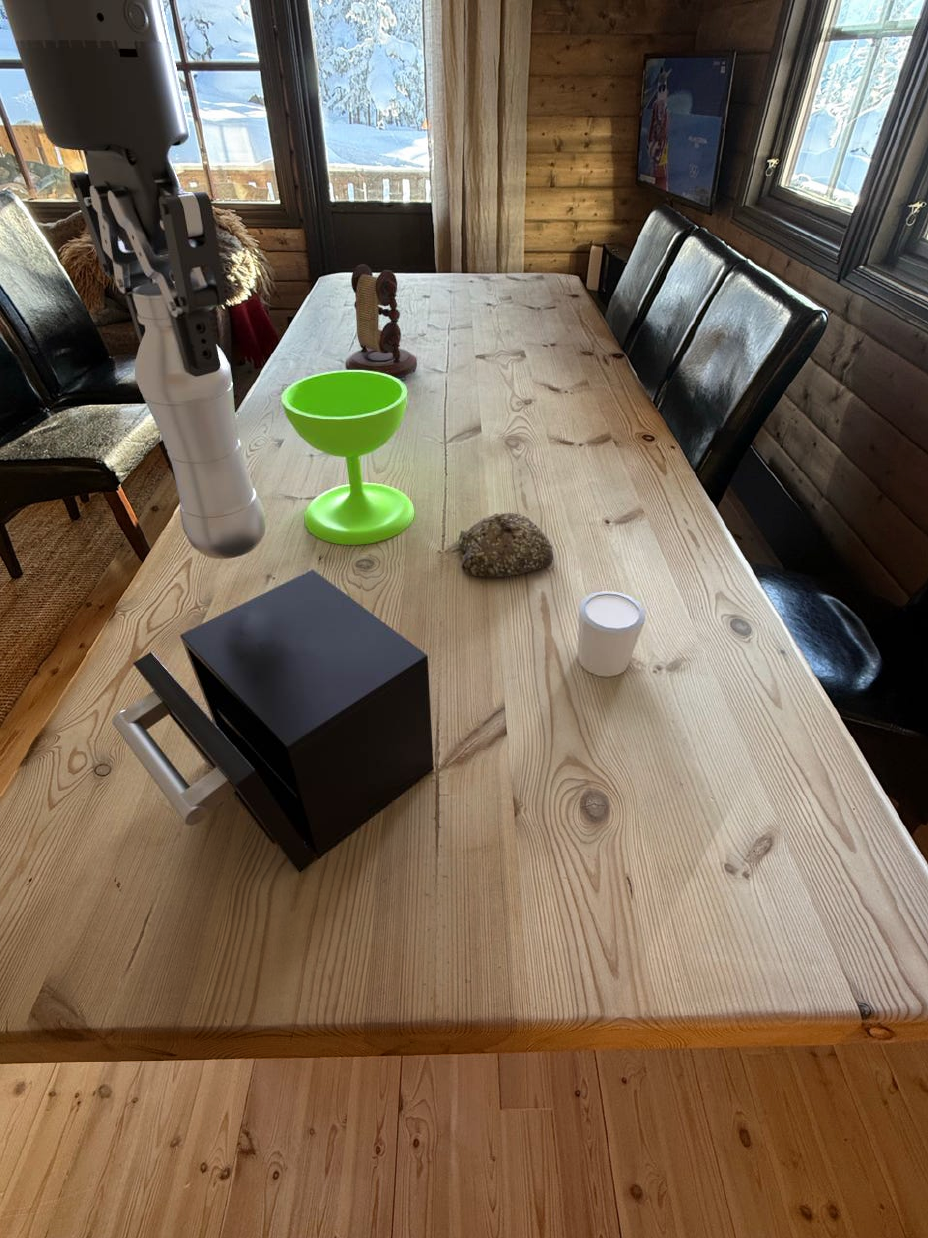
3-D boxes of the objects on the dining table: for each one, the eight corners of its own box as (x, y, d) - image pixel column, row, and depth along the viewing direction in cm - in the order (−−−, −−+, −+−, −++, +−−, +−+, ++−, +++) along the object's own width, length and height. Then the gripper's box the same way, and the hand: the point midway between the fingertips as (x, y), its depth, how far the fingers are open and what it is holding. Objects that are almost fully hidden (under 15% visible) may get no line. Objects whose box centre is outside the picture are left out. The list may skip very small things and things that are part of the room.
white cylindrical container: (611, 690, 69) (621, 642, 65) (559, 659, 73) (565, 611, 68) (646, 657, 73) (658, 609, 69) (595, 629, 77) (603, 581, 72)
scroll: (331, 374, 137) (317, 268, 124) (382, 355, 145) (374, 254, 132) (381, 392, 130) (372, 282, 117) (431, 371, 138) (428, 266, 125)
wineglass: (437, 509, 97) (433, 389, 85) (358, 559, 87) (341, 431, 76) (361, 476, 104) (348, 361, 93) (281, 518, 95) (254, 396, 83)
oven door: (261, 908, 52) (183, 826, 42) (170, 786, 61) (86, 692, 50) (315, 860, 55) (255, 769, 44) (220, 749, 63) (150, 651, 53)
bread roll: (560, 573, 85) (564, 541, 82) (467, 585, 83) (467, 553, 80) (533, 521, 94) (535, 490, 91) (448, 530, 92) (447, 499, 89)
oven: (318, 859, 55) (286, 747, 45) (223, 749, 64) (179, 634, 54) (434, 770, 62) (427, 655, 52) (333, 681, 70) (312, 568, 61)
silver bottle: (263, 519, 59) (207, 272, 46) (277, 559, 54) (218, 296, 41) (188, 534, 57) (107, 280, 44) (194, 577, 52) (106, 307, 39)
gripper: (-29, 34, 36) (84, 348, 47) (72, 28, 29) (179, 405, 39) (107, 37, 40) (182, 325, 51) (228, 33, 33) (286, 373, 43)
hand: (181, 359), depth 45 cm, fingers closed on silver bottle, 6 cm apart
